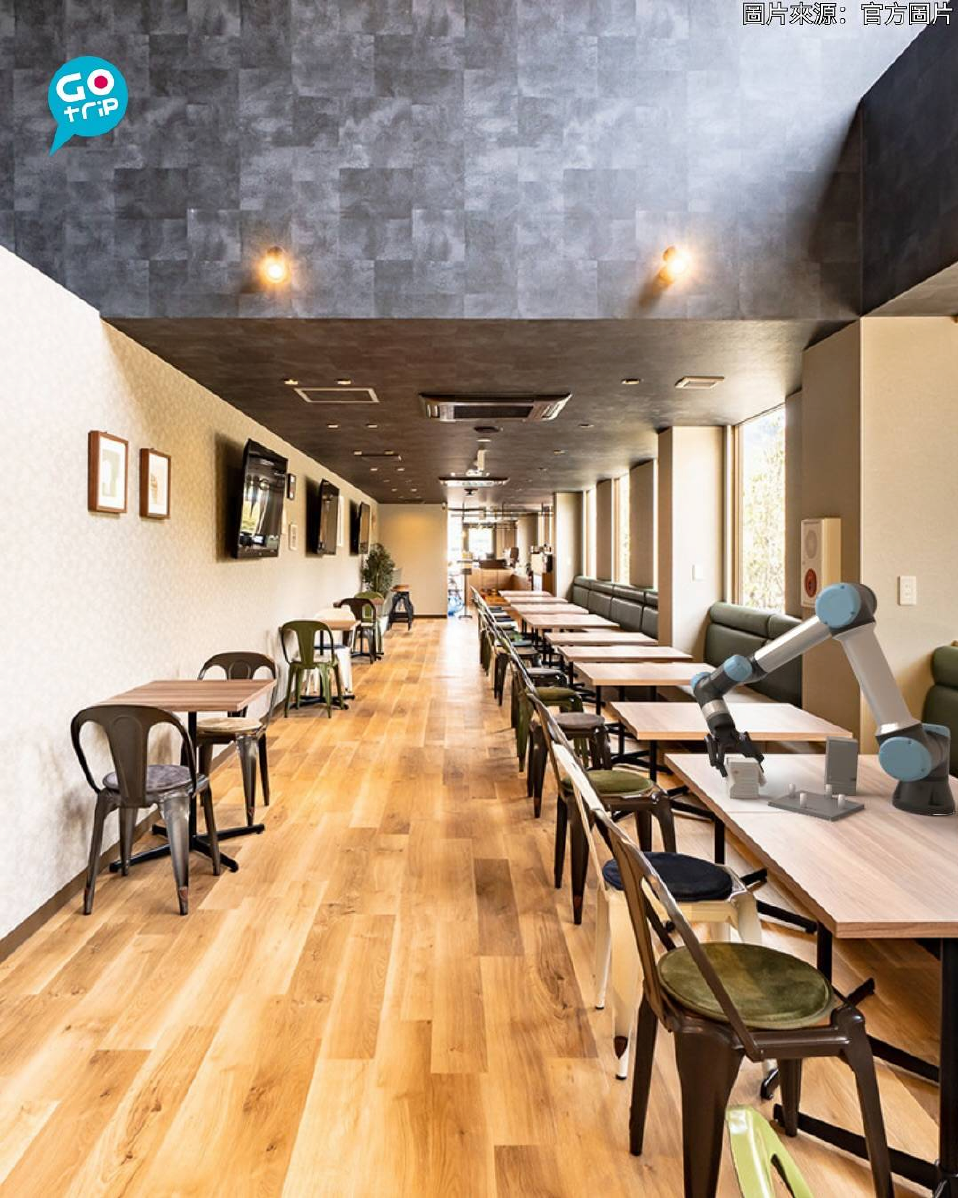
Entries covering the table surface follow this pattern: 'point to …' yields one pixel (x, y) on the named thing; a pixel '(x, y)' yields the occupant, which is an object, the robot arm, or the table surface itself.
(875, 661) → the robot arm
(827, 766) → the skincare box
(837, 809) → the pin tray
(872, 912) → the table surface
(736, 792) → the small box
